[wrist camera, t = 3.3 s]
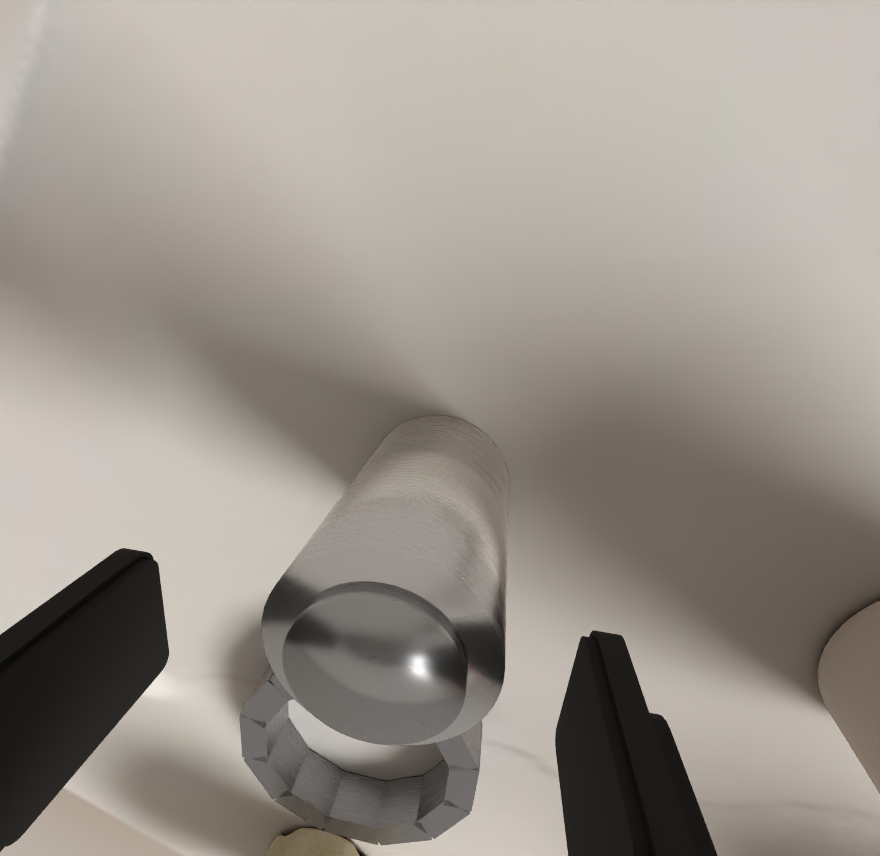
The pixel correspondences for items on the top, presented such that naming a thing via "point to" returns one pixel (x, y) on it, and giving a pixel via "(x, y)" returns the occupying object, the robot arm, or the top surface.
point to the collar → (355, 779)
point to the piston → (401, 592)
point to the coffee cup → (855, 685)
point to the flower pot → (311, 844)
